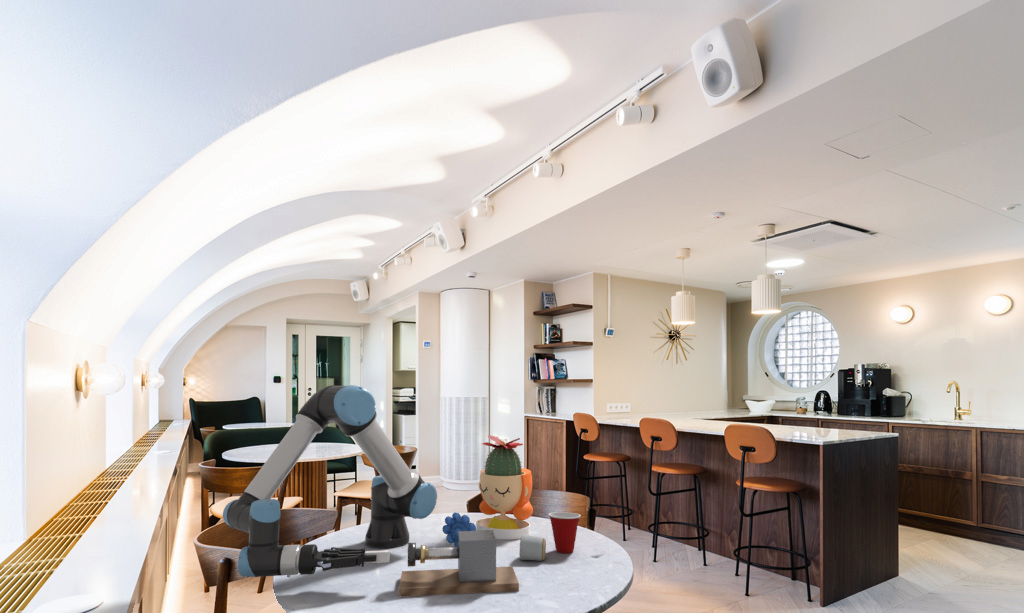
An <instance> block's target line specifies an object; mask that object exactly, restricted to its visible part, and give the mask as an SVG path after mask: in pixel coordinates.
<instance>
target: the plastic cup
mask: <svg viewBox="0 0 1024 613" xmlns="http://www.w3.org/2000/svg"><path fill="white" fill-rule="evenodd" d="M581 516H582V515H581V514H579V513H576V512H575V513H574V512H567V511H566V512H564V511H561V512H560V511H557V512H555V511H553V512H549V513H548V517H549V519H550V524H551V529H552V536H553V541H554V546H555V551H556V552H557V553H560V554H572V553H574V549H575V544H576V538H577V531H578V525H579V521H580V518H581Z"/></svg>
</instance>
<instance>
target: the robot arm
mask: <svg viewBox="0 0 1024 613" xmlns="http://www.w3.org/2000/svg"><path fill="white" fill-rule="evenodd" d="M376 408H377V407H376V399H375V397H374V395H373V394H372V393H371V392H370V391H369V389H367V388H365V387H362V386H358V385H354V384H353V385H351V384H350V385H333V384H332V385H327V386H324V387H322V388H320V389H319V390H317V391H316V392H315V393H313V395H311V397H310V398H308V400H307V401H306V402H305V403H304V404H303V405H302V407H300V409H299V411H298V412H297V414H296V415H295V422H294V423H293V424H292V426H291V427H290V429H289V430H288V431H287V433H286V434H285V435H284V437H283V438H282V440H280V442H279V444H277V446H276V448H275V449H274V450H273V451H272V453H271V454H270V456H269V457H268V459H267V460H266V461H265V462H264V464H262V466H261V467H260V469H259V471H258V472H257V474H256V475H255V476H254V477H253V479H252V480H251V481H250V483H249V484H248V486H247V487H246V488H245V489H244V491H243V493H242V494H241V495H240V496H239V498H238V499H233V500H231V501H230V502H228V503H227V504H226V505H225V507H224V509H223V512H222V519H223V521H224V523H225V524H226V525H227V526H229V527H230V528H231V529H233V530H234V529H235V530H239V531H241V532H244V533H246V534H248V546H244V547H242V548H241V550H240V551H239V554H238V560H237V572H238V575H240V576H241V577H252V578H253V577H254V578H260V577H276V576H280V577H282V576H286V577H287V578H290V577H291V576H296V575H298V574H299V575H300V576H303V575H304V576H307V575H314V574H315V572H316V570H317V568H321V569H322V571H323V572H326V571H329V570H337V569H345V568H347V569H348V568H355V567H361V568H364V567H365V564H373V563H374V564H377V563H390V556H391V555H390V550H386V549H390V548H396V547H402V546H404V545H406V544H407V545H408V543H410V531H409V528H408V526H407V521H406V518H405V517H409V518H412V519H415V520H416V519H418V520H422V519H426V518H428V517H429V516H430V515H431V514H432V513H433V512H434V510H435V508H436V505H437V499H438V490H437V489H436V487H435V485H434V484H432V483H430V482H425V481H424V479H423V478H422V476H420V473H419V472H418V471H417V470H414V469H410V468H409V466H408V464H407V463H406V462H405V460H404V459H403V458H402V456H401V455H400V453H399V452H398V450H397V449H396V447H395V446H394V444H393V443H392V442H391V440H390V438H389V437H388V436H387V435H386V433H385V432H384V430H383V429H382V427H381V426H380V424H379V423H378V422H377V420H376V419H377V416H378V414H377V411H376ZM330 424H336V425H337V426H338V428H339V429H340V431H341V432H342V433H343V435H344V436H346V437H352V438H353V440H354V441H355V442H356V444H357V445H358V447H359V448H360V449H361V451H362V452H363V454H365V457H366V458H367V460H369V462H370V463H371V464H372V466H373V467H374V468H375V471H377V473H378V474H379V475H377V476H374V477H373V478H372V479H371V487H370V490H371V492H370V493H371V495H370V496H371V499H370V504H371V505H370V521H369V523H368V524H369V525H368V527H367V531H366V533H365V538H364V545H366V546H367V547H370V548H376V549H385V550H366V549H367V548H366V547H363V548H350V547H349V548H344V547H334V546H332V547H330V548H328V549H327V548H325V549H323V550H319V549H318V546H317V544H315V543H314V544H313V543H312V544H308V543H307V544H303V545H301V544H286V545H284V544H283V545H282V544H281V545H279V544H280V543H279V542H280V541H279V540H280V528H281V527H280V524H281V515H282V514H281V503H280V501H279V500H278V499H274V498H272V497H273V496H274V495H275V493H276V492H277V491H278V490H279V488H280V486H281V485H282V484H283V482H284V481H285V479H286V478H287V476H288V475H289V474H290V473H291V470H293V468H294V467H295V465H296V464H297V462H298V461H299V459H300V458H301V457H302V455H303V454H304V453H305V451H306V450H307V449H308V448H309V446H310V444H311V443H312V441H313V440H314V439H315V437H316V436H317V434H321V433H322V432H323V431H324V430H325V429H326V428H327V426H328V425H330Z"/></svg>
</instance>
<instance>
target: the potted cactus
mask: <svg viewBox="0 0 1024 613" xmlns="http://www.w3.org/2000/svg"><path fill="white" fill-rule="evenodd" d="M487 438H488V439H489V440H490V441H493V442H494V443H490V442H487V441H486V442H482V443H481V445H483V446H488V447H492V448H491V450H489V451H488V453H487V457H486V458H485V461H484V464H485V465H483V468H484V469H483V470H480V474H479V475H480V476H479V481H478V489H479V491H480V495H481V497H482V501H481V502H480V503H479V506H478V507H479V511H480V512H481V513H482V514H484V515H485V516H492V515H495V516H493V517H484V518H479V519H478V520H476V523H475V526H476V531H483V530H493V532H494V535H495V538H496V540H521V536H522V535H529V536H531V523H530V522H528V521H527V520H528V519H530V518H531V517H532V515H533V513H534V508H533V505H532V504H531V502H530V498H531V495H532V491H533V475H532V471H531V469H528V468H523V467H524V465H522V463H523V461H522V460H521V457H519V456H520V454H518V450H516V449H517V447H520V446H523V445H524V443H520V442H517V441H519V440H520V439H521V438H519V437H518V438H515V439H513V440H511V441H508V439H506V438H505V439H504V440H502V439H500V438H499V437H498V436H495V435H487ZM497 513H499V514H500V515H499V514H498V515H496V514H497ZM509 514H513V517H511V516H510V517H509V516H507V515H509Z"/></svg>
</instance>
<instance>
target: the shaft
mask: <svg viewBox="0 0 1024 613" xmlns="http://www.w3.org/2000/svg"><path fill="white" fill-rule="evenodd" d="M407 545H408V546H407V567H409V568H410V567H416V564H417V563H416V562H417V561H419V563H420V564H426V561H432V560H456V559H457V560H458V559H459V547H455V546H452V547H451V546H449V547H446V546H445V547H426V544H425V545H424V544H423V545H422V544H420V548H417V543H416V542H408V543H407Z"/></svg>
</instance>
